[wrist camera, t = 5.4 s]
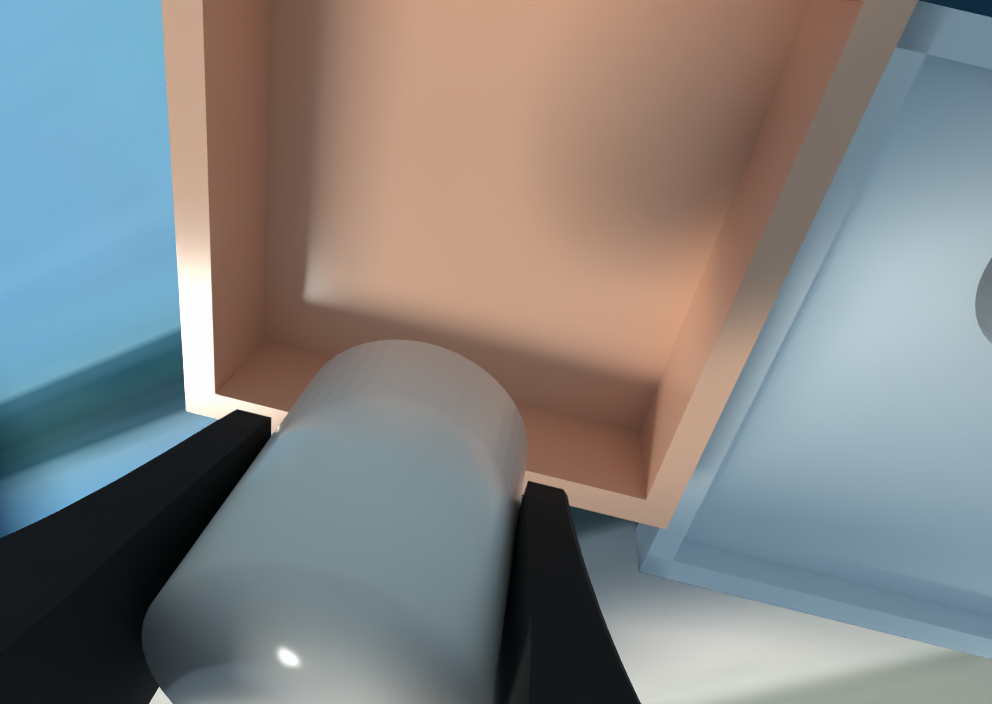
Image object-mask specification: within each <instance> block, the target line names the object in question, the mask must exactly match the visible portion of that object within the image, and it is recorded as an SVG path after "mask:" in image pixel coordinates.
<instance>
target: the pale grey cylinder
mask: <svg viewBox="0 0 992 704" xmlns="http://www.w3.org/2000/svg"><path fill="white" fill-rule="evenodd" d="M527 455H528V442H527V435H526V429H525V426H524V423H523V420H522V417H521V415H520V413H519V411H518V409H517V407H516V405H515V403H514V402H513V400H512V399H511V397H510V396H509V394H508V393H507V392H506V390H505V389H504V388H503V387H502V386H501V385H500V384H499V382H498V381H497V380H495V379H494V378H493V377H492V376H491V375H490V374H489V373H488V372H487V371H485V370H484V369H482V368H481V367H480V366H478V365H477V364H475V363H474V362H472V361H471V360H469V359H467V358H465V357H463V356H461V355H460V354H458V353H455V352H453V351H450V350H448V349H445V348H443V347H440V346H436V345H433V344H429V343H425V342H419V341H412V340H397V339H393V340H379V341H374V342H369V343H364V344H361V345H358V346H355V347H352V348H350V349H348V350H346V351H344V352H342V353H340V354H338V355H336V356H335V357H334V358H332V359H331V360H330V361H328V362H327V363H326V364H325V365H324V366H323V367H322V368H321V369H320V370H319V371H318V372H317V373H316V375H315V376H314V378H313V379H312V380H311V382H310V383H309V385H308V386H307V387H306V389H305V390H304V392H303V393H302V394H301V396H300V397H299V398H298V400H297V401H296V403H295V404H294V405H293V407H292V408H291V410H290V411H289V412H288V414H287V415H286V417H285V418H284V419H283V421H282V422H281V424H280V425H279V426H278V428H277V429H276V431H275V432H274V433H273V435H272V436H271V438H270V439H269V440H268V442H267V443H266V444H265V446H264V447H263V449H262V450H261V451H260V453H259V454H258V456H257V457H256V458H255V460H254V461H253V463H252V464H251V465H250V467H249V468H248V470H247V471H246V472H245V474H244V475H243V477H242V478H241V479H240V481H239V482H238V484H237V485H236V486H235V488H234V489H233V490H232V492H231V493H230V495H229V496H228V497H227V499H226V500H225V502H224V503H223V504H222V506H221V507H220V509H219V510H218V511H217V513H216V514H215V516H214V517H213V518H212V520H211V521H210V523H209V524H208V525H207V527H206V528H205V530H204V531H203V532H202V534H201V535H200V536H199V538H198V539H197V541H196V542H195V543H194V545H193V546H192V548H191V549H190V550H189V552H188V553H187V555H186V556H185V557H184V559H183V560H182V562H181V563H180V564H179V566H178V567H177V569H176V570H175V571H174V573H173V574H172V576H171V577H170V578H169V580H168V581H167V582H166V584H165V585H164V587H163V588H162V589H161V591H160V592H159V594H158V595H157V596H156V598H155V599H154V601H153V602H152V603H151V605H150V606H149V608H148V610H147V613H146V615H145V618H144V621H143V627H142V647H143V651H144V655H145V659H146V662H147V664H148V667H149V669H150V671H151V673H152V675H153V677H154V679H155V680H156V682H157V683H158V685H159V686H160V688H161V690H162V691H163V692H164V693H165V694H166V696H167V697H168V698H169V699H170V701H171V702H172V703H173V704H492V703H493V695H494V688H495V681H496V674H497V667H498V660H499V653H500V646H501V639H502V632H503V625H504V618H505V611H506V604H507V596H508V589H509V582H510V575H511V568H512V561H513V554H514V546H515V539H516V532H517V525H518V518H519V511H520V505H521V497H522V490H523V483H524V476H525V469H526V462H527Z"/></svg>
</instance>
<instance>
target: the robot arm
mask: <svg viewBox="0 0 992 704" xmlns="http://www.w3.org/2000/svg"><path fill="white" fill-rule="evenodd" d="M271 418H272V417H267V416H263V415H259V414H255V413H251V412H247V411H243V410H239V409H236V410H234V411H233V412H231V413H229V414H228V415H226V416H224V417H222V418H221V419H219V420H217V421H215V422H214V423H212V424H211V425H209V426H207V427H206V428H204V429H202V430H201V431H199V432H197V433H196V434H194V435H192V436H191V437H189V438H187V439H186V440H184V441H182V442H181V443H179V444H178V445H176V446H174V447H173V448H171V449H169V450H168V451H166V452H164V453H163V454H161V455H159V456H157V457H156V458H154V459H152V460H151V461H149V462H147V463H145V464H144V465H142V466H140V467H138V468H137V469H135V470H133V471H132V472H130V473H128V474H126V475H125V476H123V477H121V478H119V479H118V480H116V481H114V482H112V483H110V484H109V485H107V486H105V487H103V488H101V489H99V490H97V491H95V492H94V493H92V494H90V495H88V496H86V497H84V498H82V499H80V500H78V501H77V502H75V503H73V504H71V505H69V506H67V507H65V508H63V509H61V510H59V511H58V512H56V513H54V514H52V515H50V516H47V517H45V518H43V519H41V520H39V521H37V522H35V523H33V524H31V525H29V526H27V527H24V528H22V529H20V530H18V531H16V532H14V533H11V534H9V535H7V536H5V537H2V538H0V704H149V703H150V701H151V699H152V698H153V696H154V694H155V693H156V691H157V689H158V688H159V685H158V683H157V682H156V680H155V679H154V677H153V675H152V673H151V671H150V669H149V667H148V664H147V662H146V659H145V655H144V651H143V647H142V627H143V621H144V618H145V615H146V613H147V610H148V608H149V606H150V605H151V603H152V602H153V601H154V599H155V598H156V596H157V595H158V594H159V592H160V591H161V589H162V588H163V587H164V585H165V584H166V582H167V581H168V580H169V578H170V577H171V576H172V574H173V573H174V571H175V570H176V569H177V567H178V566H179V564H180V563H181V562H182V560H183V559H184V557H185V556H186V555H187V553H188V552H189V550H190V549H191V548H192V546H193V545H194V543H195V542H196V541H197V539H198V538H199V536H200V535H201V534H202V532H203V531H204V530H205V528H206V527H207V525H208V524H209V523H210V521H211V520H212V518H213V517H214V516H215V514H216V513H217V511H218V510H219V509H220V507H221V506H222V504H223V503H224V502H225V500H226V499H227V497H228V496H229V495H230V493H231V492H232V490H233V489H234V488H235V486H236V485H237V484H238V482H239V481H240V479H241V478H242V477H243V475H244V474H245V472H246V471H247V470H248V468H249V467H250V465H251V464H252V463H253V461H254V460H255V458H256V457H257V456H258V454H259V453H260V451H261V450H262V449H263V447H264V446H265V444H266V443H267V442H268V440H269V439H270V438H271ZM492 704H641V703H640V701H639V699H638V697H637V694H636V692H635V690H634V688H633V686H632V684H631V682H630V679H629V677H628V675H627V673H626V671H625V668H624V666H623V664H622V662H621V659H620V657H619V655H618V652H617V650H616V647H615V645H614V642H613V640H612V638H611V635H610V633H609V630H608V628H607V625H606V623H605V620H604V617H603V615H602V612H601V610H600V607H599V604H598V601H597V598H596V595H595V593H594V590H593V587H592V584H591V581H590V578H589V575H588V572H587V569H586V566H585V563H584V560H583V556H582V553H581V549H580V546H579V543H578V539H577V535H576V532H575V528H574V524H573V520H572V515H571V511H570V506H569V501H568V496H567V494H566V493H565V491H564V490H563V489H560V488H556V487H552V486H548V485H544V484H540V483H536V482H532V481H528V482H527V485H526V489H525V492H524V495H523V499H522V502H521V505H520V511H519V518H518V525H517V532H516V539H515V546H514V554H513V561H512V568H511V575H510V582H509V589H508V596H507V604H506V611H505V618H504V625H503V632H502V639H501V646H500V653H499V660H498V667H497V674H496V681H495V688H494V695H493V703H492Z"/></svg>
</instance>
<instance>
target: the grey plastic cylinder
mask: <svg viewBox="0 0 992 704" xmlns="http://www.w3.org/2000/svg"><path fill="white" fill-rule="evenodd" d="M975 310H976V317H977V321H978V325H979V327H980V329H981V331H982V333H983V334H984V336H985V337H986V338H987V340H988V341H989V342H990V343H991V344H992V258H991V260H990V261H989V263H988V265H987V266H986V268H985V270H984V272H983V274H982V277H981V279H980V281H979V284H978V288H977V292H976V300H975Z"/></svg>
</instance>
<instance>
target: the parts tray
mask: <svg viewBox="0 0 992 704" xmlns="http://www.w3.org/2000/svg"><path fill="white" fill-rule="evenodd" d="M991 258H992V17H987V16H983V15H979V14H974V13H970V12H966V11H962V10H957V9H953V8H949V7H945V6H940V5H936V4H932V3H928V2H923V1H919V0H918V2H917V4H916V6H915V8H914V10H913V12H912V14H911V16H910V18H909V21H908V23H907V25H906V27H905V29H904V31H903V33H902V35H901V37H900V39H899V42H898V44H897V46H896V48H895V50H894V52H893V54H892V56H891V58H890V60H889V63H888V65H887V67H886V69H885V71H884V73H883V75H882V77H881V79H880V81H879V84H878V86H877V88H876V90H875V92H874V94H873V96H872V98H871V100H870V102H869V104H868V107H867V109H866V111H865V113H864V115H863V117H862V119H861V121H860V123H859V125H858V128H857V130H856V132H855V134H854V136H853V138H852V140H851V142H850V144H849V146H848V149H847V151H846V153H845V155H844V157H843V159H842V161H841V163H840V165H839V167H838V170H837V172H836V174H835V176H834V178H833V180H832V182H831V184H830V186H829V188H828V191H827V193H826V195H825V197H824V199H823V201H822V203H821V205H820V207H819V209H818V212H817V214H816V216H815V218H814V220H813V222H812V224H811V226H810V228H809V230H808V233H807V235H806V237H805V239H804V241H803V243H802V245H801V247H800V249H799V251H798V254H797V256H796V258H795V260H794V262H793V264H792V266H791V268H790V270H789V272H788V275H787V277H786V279H785V281H784V283H783V285H782V287H781V289H780V291H779V293H778V296H777V298H776V300H775V302H774V304H773V306H772V308H771V310H770V312H769V314H768V317H767V319H766V321H765V323H764V325H763V327H762V329H761V331H760V333H759V335H758V338H757V340H756V342H755V344H754V346H753V348H752V350H751V352H750V354H749V356H748V359H747V361H746V363H745V365H744V367H743V369H742V371H741V373H740V375H739V377H738V379H737V382H736V384H735V386H734V388H733V390H732V392H731V394H730V396H729V398H728V400H727V403H726V405H725V407H724V409H723V411H722V413H721V415H720V417H719V419H718V421H717V424H716V426H715V428H714V430H713V432H712V434H711V436H710V438H709V440H708V442H707V445H706V447H705V449H704V451H703V453H702V455H701V457H700V459H699V461H698V463H697V466H696V468H695V470H694V472H693V474H692V476H691V478H690V480H689V482H688V484H687V487H686V489H685V491H684V493H683V495H682V497H681V499H680V501H679V503H678V505H677V508H676V510H675V512H674V514H673V516H672V518H671V520H670V522H669V524H668V526H667V529H662V528H658V527H654V526H650V525H646V524H642V523H638V526H637V528H636V540H637V553H638V565H639V572H642V573H646V574H650V575H654V576H658V577H662V578H666V579H670V580H674V581H678V582H682V583H686V584H690V585H694V586H698V587H702V588H706V589H710V590H714V591H719V592H723V593H727V594H731V595H735V596H739V597H743V598H747V599H751V600H755V601H759V602H763V603H767V604H771V605H775V606H779V607H783V608H787V609H791V610H795V611H799V612H803V613H807V614H812V615H816V616H820V617H824V618H828V619H832V620H836V621H840V622H844V623H848V624H852V625H856V626H860V627H864V628H868V629H872V630H876V631H880V632H884V633H888V634H892V635H896V636H900V637H905V638H909V639H913V640H917V641H921V642H925V643H929V644H933V645H937V646H941V647H945V648H949V649H953V650H957V651H961V652H965V653H969V654H973V655H977V656H981V657H985V658H989V659H992V344H991V343H990V342H989V341H988V340H987V338H986V337H985V336H984V334H983V333H982V331H981V329H980V327H979V325H978V321H977V317H976V310H975V300H976V292H977V288H978V284H979V281H980V279H981V277H982V274H983V272H984V270H985V268H986V266H987V265H988V263H989V261H990V260H991Z"/></svg>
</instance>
